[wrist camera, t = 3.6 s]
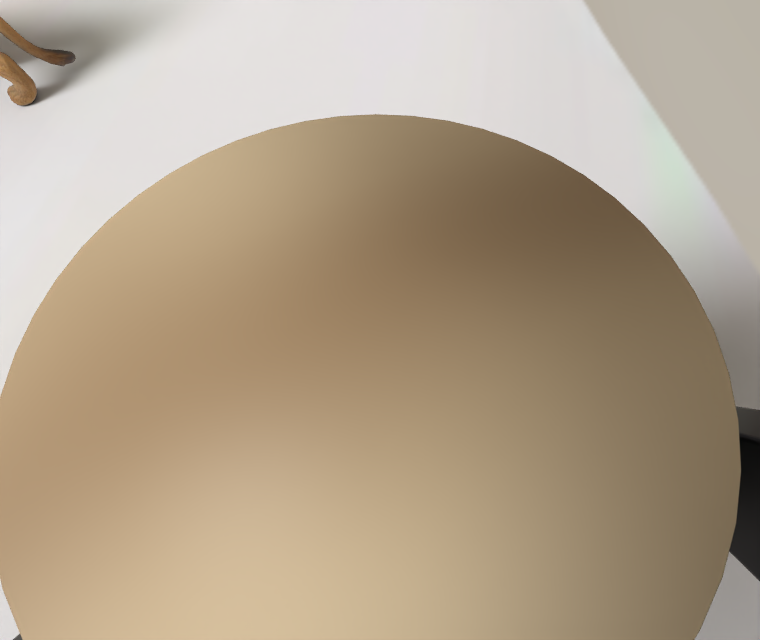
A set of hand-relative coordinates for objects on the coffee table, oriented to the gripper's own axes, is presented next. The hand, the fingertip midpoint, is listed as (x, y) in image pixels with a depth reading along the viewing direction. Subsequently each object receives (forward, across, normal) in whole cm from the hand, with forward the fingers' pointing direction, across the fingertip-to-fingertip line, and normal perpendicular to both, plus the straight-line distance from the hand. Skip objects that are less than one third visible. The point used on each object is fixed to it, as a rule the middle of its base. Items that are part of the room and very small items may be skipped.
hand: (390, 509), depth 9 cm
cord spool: (+6, 0, +6) cm, 8 cm away
